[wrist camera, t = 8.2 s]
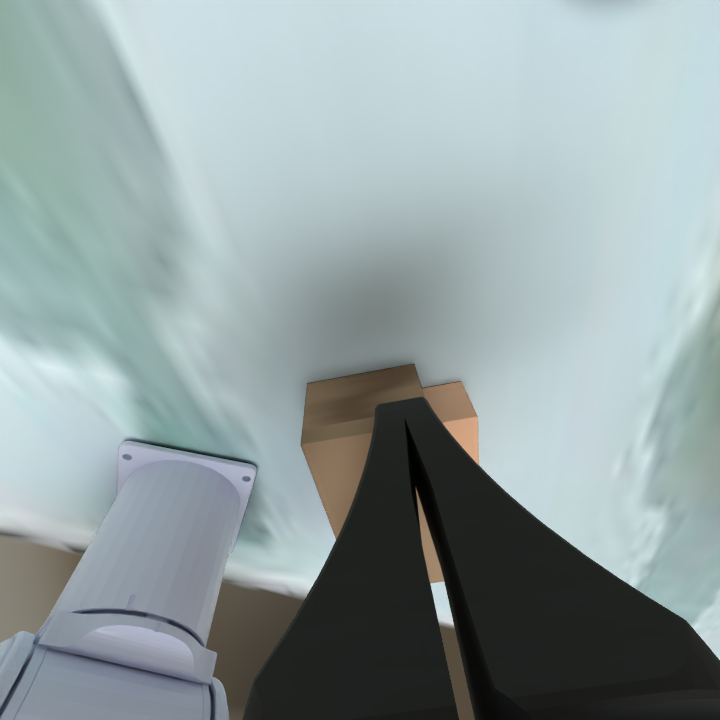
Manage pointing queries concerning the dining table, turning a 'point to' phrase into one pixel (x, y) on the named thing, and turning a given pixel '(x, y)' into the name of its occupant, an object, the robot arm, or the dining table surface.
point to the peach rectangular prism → (456, 414)
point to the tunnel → (354, 440)
